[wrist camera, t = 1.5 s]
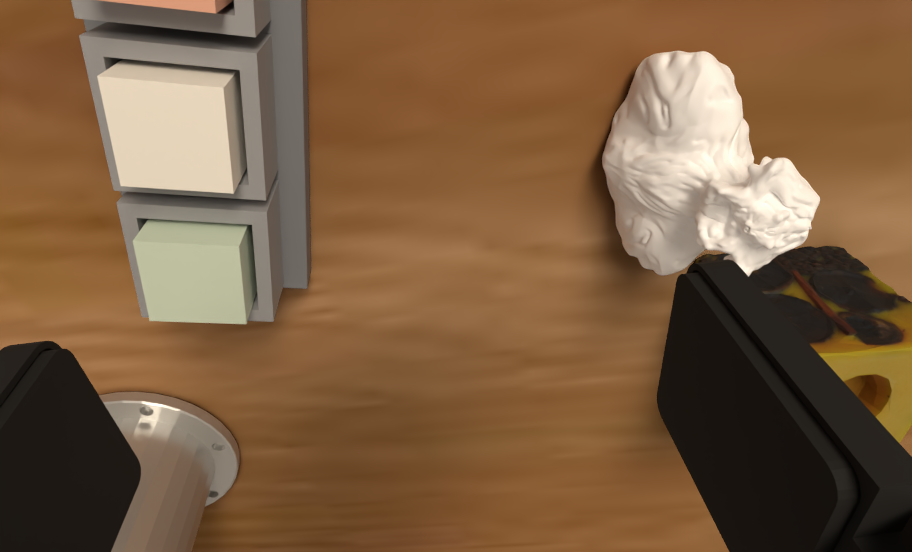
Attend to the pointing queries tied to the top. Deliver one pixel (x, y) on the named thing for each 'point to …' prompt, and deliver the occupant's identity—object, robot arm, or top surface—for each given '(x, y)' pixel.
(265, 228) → the button board
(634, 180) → the bust
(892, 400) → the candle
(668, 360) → the robot arm
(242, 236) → the sage button
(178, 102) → the cream button
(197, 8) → the terracotta button
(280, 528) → the top surface
